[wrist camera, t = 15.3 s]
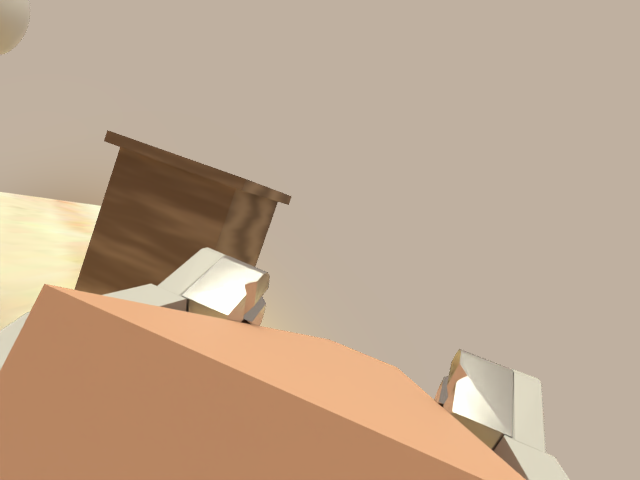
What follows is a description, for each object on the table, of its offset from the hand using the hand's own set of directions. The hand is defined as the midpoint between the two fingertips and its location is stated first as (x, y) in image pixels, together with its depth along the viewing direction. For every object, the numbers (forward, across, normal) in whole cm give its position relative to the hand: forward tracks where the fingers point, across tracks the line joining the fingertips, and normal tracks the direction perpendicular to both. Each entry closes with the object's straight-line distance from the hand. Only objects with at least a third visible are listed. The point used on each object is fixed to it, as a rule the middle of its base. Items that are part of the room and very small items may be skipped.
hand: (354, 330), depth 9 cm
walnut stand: (+17, -22, -37) cm, 46 cm away
